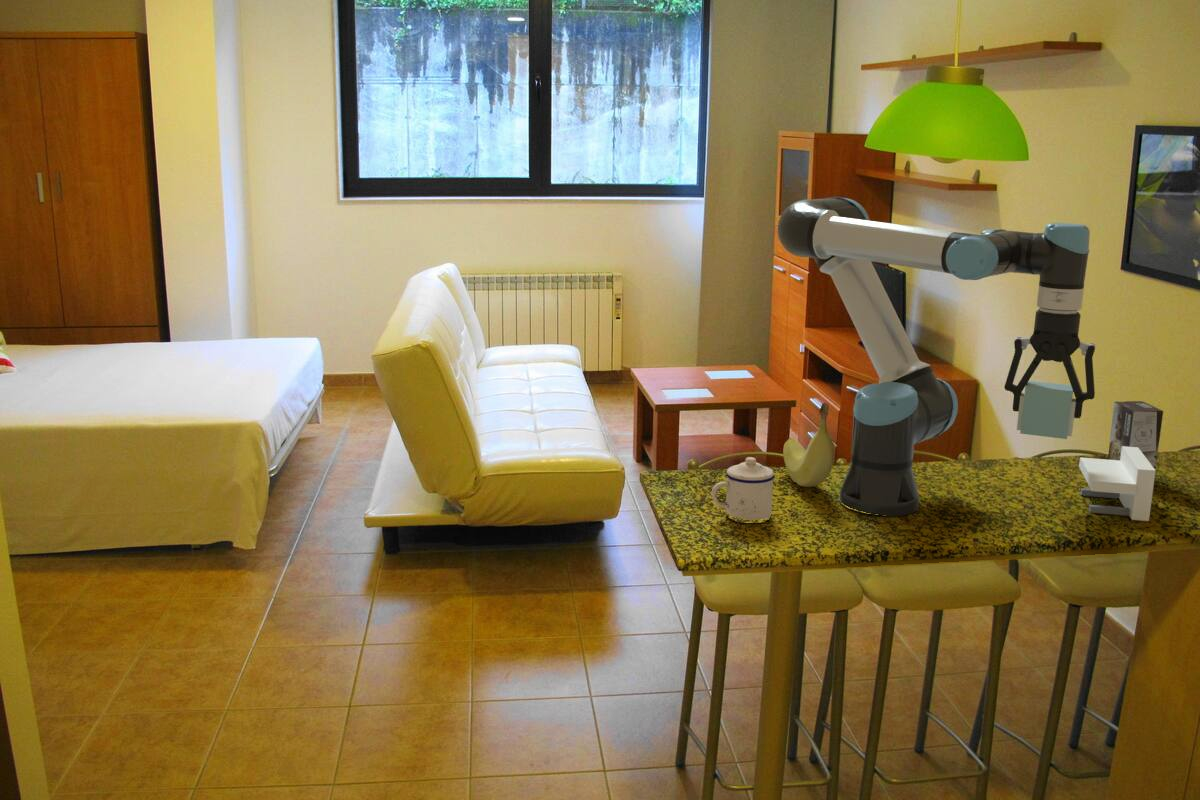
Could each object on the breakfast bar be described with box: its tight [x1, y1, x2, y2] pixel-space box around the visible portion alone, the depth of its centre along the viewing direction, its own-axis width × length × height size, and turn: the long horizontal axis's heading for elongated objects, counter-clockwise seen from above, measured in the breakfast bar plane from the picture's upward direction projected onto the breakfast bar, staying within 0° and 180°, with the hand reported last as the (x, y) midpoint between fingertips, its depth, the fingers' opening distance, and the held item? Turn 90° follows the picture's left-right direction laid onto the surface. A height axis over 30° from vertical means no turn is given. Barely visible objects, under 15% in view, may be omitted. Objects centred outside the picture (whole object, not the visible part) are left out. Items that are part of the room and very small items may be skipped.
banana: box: [782, 402, 835, 488], centre depth 223 cm, size 23×6×20 cm, turn 8°
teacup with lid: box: [711, 456, 776, 520], centre depth 205 cm, size 12×9×12 cm
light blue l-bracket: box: [1019, 380, 1074, 440], centre depth 209 cm, size 23×8×9 cm, turn 155°
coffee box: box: [1107, 400, 1164, 471], centre depth 229 cm, size 9×6×16 cm
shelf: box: [1078, 446, 1157, 522], centre depth 213 cm, size 10×16×10 cm, turn 165°
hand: (1044, 431), depth 202 cm, fingers closed on light blue l-bracket, 8 cm apart
